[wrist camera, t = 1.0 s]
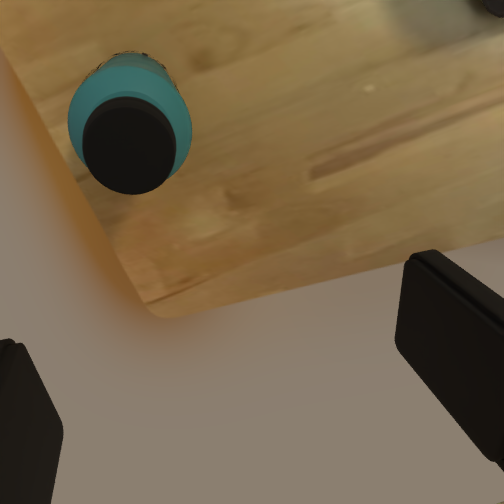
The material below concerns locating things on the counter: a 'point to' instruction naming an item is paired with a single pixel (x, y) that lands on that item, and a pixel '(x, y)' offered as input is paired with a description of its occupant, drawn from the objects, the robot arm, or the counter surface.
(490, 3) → the casserole
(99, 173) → the beverage bottle
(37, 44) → the counter surface
